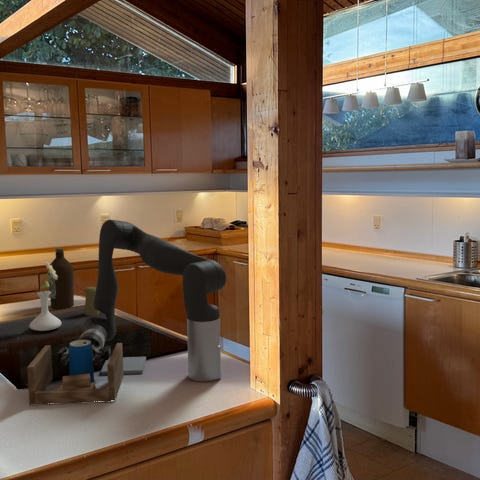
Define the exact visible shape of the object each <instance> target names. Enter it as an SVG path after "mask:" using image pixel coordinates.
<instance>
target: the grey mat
mask: <svg viewBox="0 0 480 480" xmlns="http://www.w3.org/2000/svg"><path fill="white" fill-rule="evenodd" d="M109 360H110V358H109ZM109 360H104V361H105V362H103V363H104V364H103V366H102V368H101V370H100V376H105V375H107V376H108V370H107V364H108V362H109ZM146 362H147V356H125V357H124V356H123V375H132V374H133V375H134V374H135V375H136V374H137V375H138V374H143V373H144V371H145V370H144V369H145V365H146Z"/></svg>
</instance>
